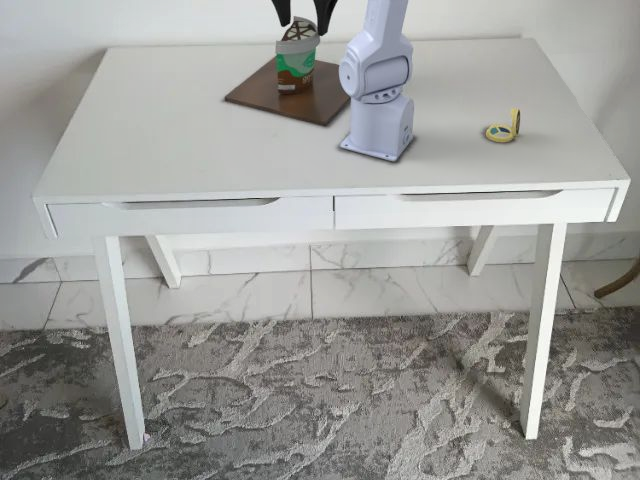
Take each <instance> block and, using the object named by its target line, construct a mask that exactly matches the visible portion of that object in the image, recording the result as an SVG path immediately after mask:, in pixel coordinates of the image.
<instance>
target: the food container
mask: <svg viewBox="0 0 640 480" xmlns="http://www.w3.org/2000/svg"><path fill="white" fill-rule="evenodd" d="M292 17H293V18H292V19H293V20H292V24H291V25H290V26H289V27H288V28H287V29H286V30H285V32H284V34H283V36H282V37H281V40H275V51H274V53H275V54H276V55H277V75H278V93H297V92H302V91H304V90H306V89H308V88H309V87H311V85H312V83H313V73H314V63H315V60H316V53H317V47H318V46H319V45H320V44H321V36H318V31H317V23H315V22H313V21H312V20H311V19H307V18H305V17H301V16H297V15H293V16H292Z"/></svg>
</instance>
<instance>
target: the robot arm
mask: <svg viewBox="0 0 640 480" xmlns="http://www.w3.org/2000/svg"><path fill="white" fill-rule="evenodd" d="M270 1H271V3H272V5H273V6H274V9H275V12H276V14H277V18H278V21H279V24H280V27H281V28H285V27H287V26H288V25H290V24H291V20H292V9H291V8H292V5H291V4H292V3H291V2H292V1H291V0H270ZM312 1H313V4H314V7H315V14H316V26H317V31H318V36H320V37H324V36H325V35H326V34H327V33H329V32H328V31H329V26H330V22H331V19H332V15H333V13H334V10H335V7H336V5H337V3H338V1H339V0H312ZM408 4H409V0H367V3H366V9H365V14H364V21H363V27H362V30H361V31H360V32H359V33H357V35H356V36H354V37H353V38H352V39H351V40H350V41H349V42H348V43H347V44H346V46H345V53H344V54H343V57H342V58H341V60H340V62H339V65H340V66H339V78H340V82H341V85H342V87H343V89H344V91H345V92H346V93H347V94H348V95H349V96H350V97H351V100H350V124H349V125H350V126H349V129H350V131H349V134H348V135H347V136H346V137H345V139H343V141H342V142H341V143H340V144H339V145H340V148H341V149H344V150H348V151H352V152H355V153H359V154H363V155H366V156H370V157H374V158H378V159H382V160H384V161H385V160H386V161H389V162H396V161H397V160H398V159H399V157H400V156H401V155H402V154H403V152H404V151H405V150H406V148H407V147H408V146H409V144H410V142H412V141H413V139H414V135H413V134H412V133H413V125H414V115H415V114H414V113H415V101H414V99H412V98H411V97H408V96H406V95H404V94H403V92H404V85H407V84H408V83H409V82H410V81H411V78H412V75H413V68H414V66H413V65H414V64H413V53H414V46H413V45H412V42H411V40H410V39H409V38H408V36H406V35H405V34H404V33H403V32H402V31H403V28H404V23H405V18H406V13H407V10H408Z"/></svg>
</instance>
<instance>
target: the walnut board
mask: <svg viewBox="0 0 640 480" xmlns="http://www.w3.org/2000/svg"><path fill="white" fill-rule="evenodd" d="M339 66H340V64H337V63H333V62H328V61H325V60H319V59H315V63H314V73H313V83H312V85H311V87H309V88H308V89H306V90H304V91H302V92H297V93H278V75H277V54H276V55H275V56H274V57H272V58H271V59H270V60H268V62H266V63H265V64H264V65H262V66H261V67H260V68H259V69H258V70H255V72H254V73H252V74H251V75H249V77H248V78H246V79H245V80H243V82H241V83H240V84H239V85H237V86H236V87H235V88H234V89H232V90H231V91H229V92H228V93H227V94H226V95H225V96H224V101H225V102H228V103H233V104H236V105H240V106H244V107H248V108H252V109H256V110H260V111H264V112H267V113H271V114H276V115H280V116H284V117H288V118H291V119H295V120H299V121H302V122H307V123H311V124H314V125H319V126H323V127H326V126H328V124H330V122H331V121H332V120H333V119H334V118H335V117H336V116H337V115H338V114H339V113H340V112H341V111H342V109H344V108H345V106H347V104H349V103H350V102H351V97H350V96H349V95H348V94H347V93H346V92H345V91H344V89H343V87H342V85H341V82H340V78H339Z"/></svg>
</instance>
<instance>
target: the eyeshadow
mask: <svg viewBox="0 0 640 480" xmlns="http://www.w3.org/2000/svg"><path fill="white" fill-rule="evenodd" d="M510 116H511V118H512V119H511V120H512V121H511V127H510V126H509V125H505V124H491V125H490V126H489V127H488V129H486V131H485V137H487V139H489V140H491V141H493V142H496V143H508V142H510V141H512V140H513V139H514V137H518V135H519V133H520V127H521V126H520V125H521V109H520V108H517V107H515V108H511V109H510Z"/></svg>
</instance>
